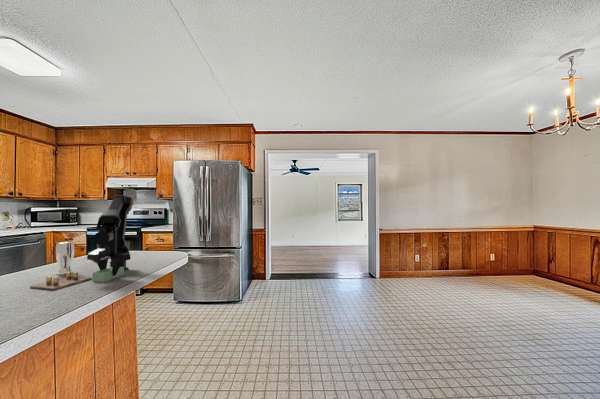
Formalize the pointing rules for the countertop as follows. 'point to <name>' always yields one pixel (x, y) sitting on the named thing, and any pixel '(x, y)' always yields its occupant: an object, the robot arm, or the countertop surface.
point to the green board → (106, 274)
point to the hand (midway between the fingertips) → (108, 275)
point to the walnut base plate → (61, 282)
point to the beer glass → (64, 257)
